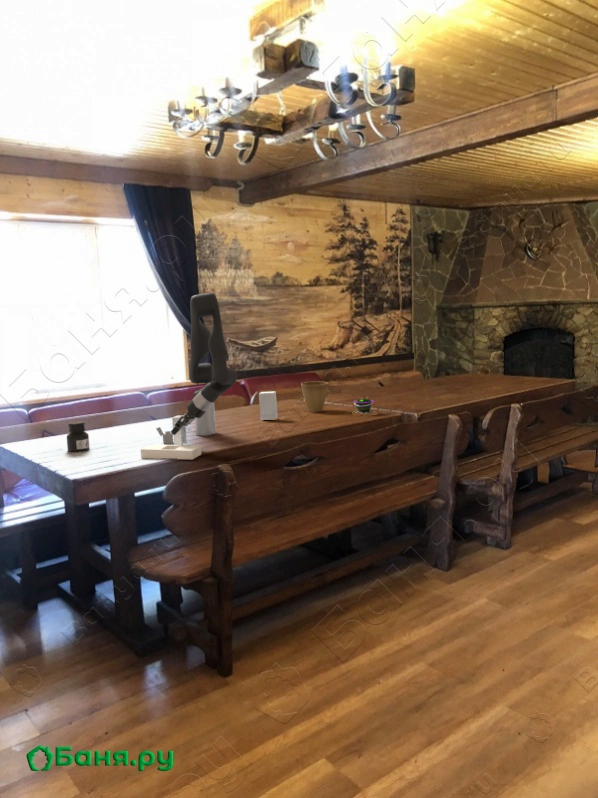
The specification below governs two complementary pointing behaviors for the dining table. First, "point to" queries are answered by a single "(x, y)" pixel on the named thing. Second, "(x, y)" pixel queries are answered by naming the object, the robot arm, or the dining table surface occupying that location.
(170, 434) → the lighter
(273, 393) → the skincare box
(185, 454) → the cream recessed block
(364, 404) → the toy cauldron
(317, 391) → the plant pot
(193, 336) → the robot arm
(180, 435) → the pale grey rectangular block
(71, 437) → the ink bottle
